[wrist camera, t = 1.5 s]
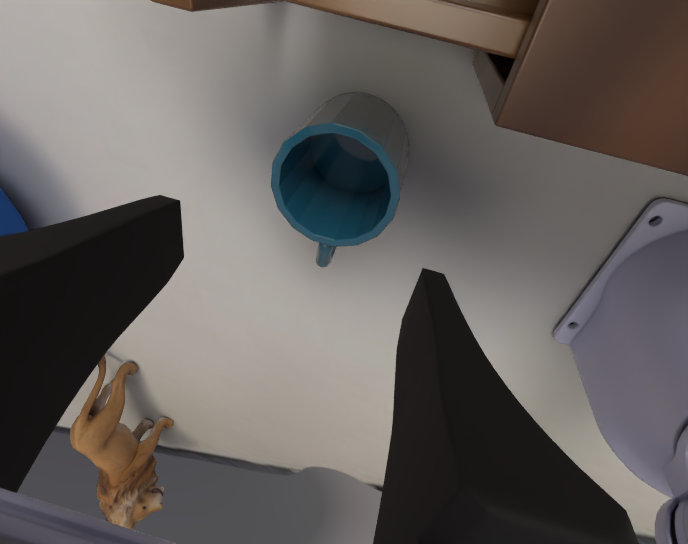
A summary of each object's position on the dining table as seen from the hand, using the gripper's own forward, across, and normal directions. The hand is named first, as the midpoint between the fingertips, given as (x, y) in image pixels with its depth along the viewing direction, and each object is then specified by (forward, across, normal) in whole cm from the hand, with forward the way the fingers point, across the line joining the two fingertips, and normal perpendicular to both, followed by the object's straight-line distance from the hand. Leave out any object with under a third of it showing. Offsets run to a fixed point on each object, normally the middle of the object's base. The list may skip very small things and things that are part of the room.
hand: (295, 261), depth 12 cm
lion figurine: (+10, +14, +30) cm, 34 cm away
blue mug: (+10, 0, 0) cm, 10 cm away
